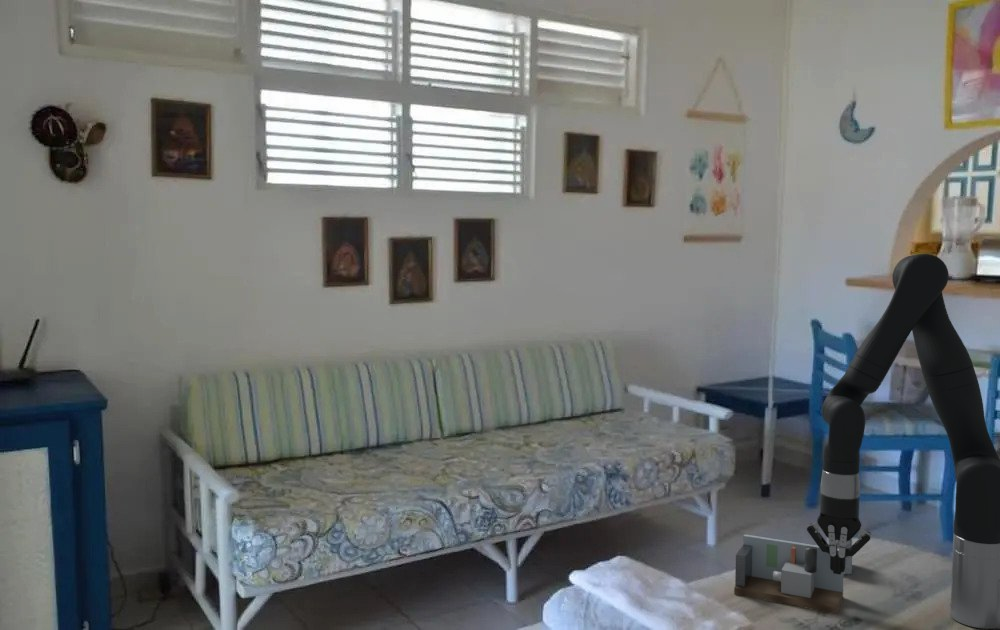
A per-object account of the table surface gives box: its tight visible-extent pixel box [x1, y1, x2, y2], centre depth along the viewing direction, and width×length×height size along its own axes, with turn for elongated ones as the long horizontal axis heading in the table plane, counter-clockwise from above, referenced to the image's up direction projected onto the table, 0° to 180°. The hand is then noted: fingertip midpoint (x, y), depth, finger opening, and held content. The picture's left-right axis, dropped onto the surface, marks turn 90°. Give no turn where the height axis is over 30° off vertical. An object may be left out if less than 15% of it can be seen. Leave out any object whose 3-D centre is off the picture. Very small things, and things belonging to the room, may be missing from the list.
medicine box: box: [826, 536, 853, 575], centre depth 201 cm, size 8×4×9 cm, turn 168°
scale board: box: [742, 534, 845, 593], centre depth 189 cm, size 21×1×9 cm, turn 61°
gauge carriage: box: [773, 546, 817, 598], centre depth 185 cm, size 9×6×10 cm, turn 61°
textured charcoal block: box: [734, 545, 752, 588], centre depth 190 cm, size 2×7×7 cm, turn 152°
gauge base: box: [733, 576, 844, 614], centre depth 186 cm, size 21×9×2 cm, turn 61°
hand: (837, 572), depth 180 cm, fingers closed
